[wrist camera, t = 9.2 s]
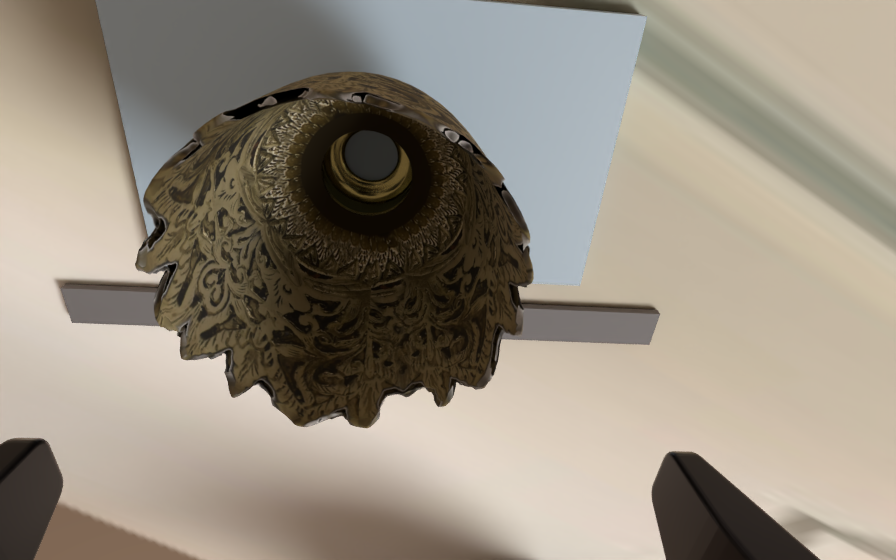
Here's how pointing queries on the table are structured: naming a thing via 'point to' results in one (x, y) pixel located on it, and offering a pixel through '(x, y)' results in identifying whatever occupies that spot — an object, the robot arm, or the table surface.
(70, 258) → the table surface
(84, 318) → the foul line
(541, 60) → the board
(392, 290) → the cup
